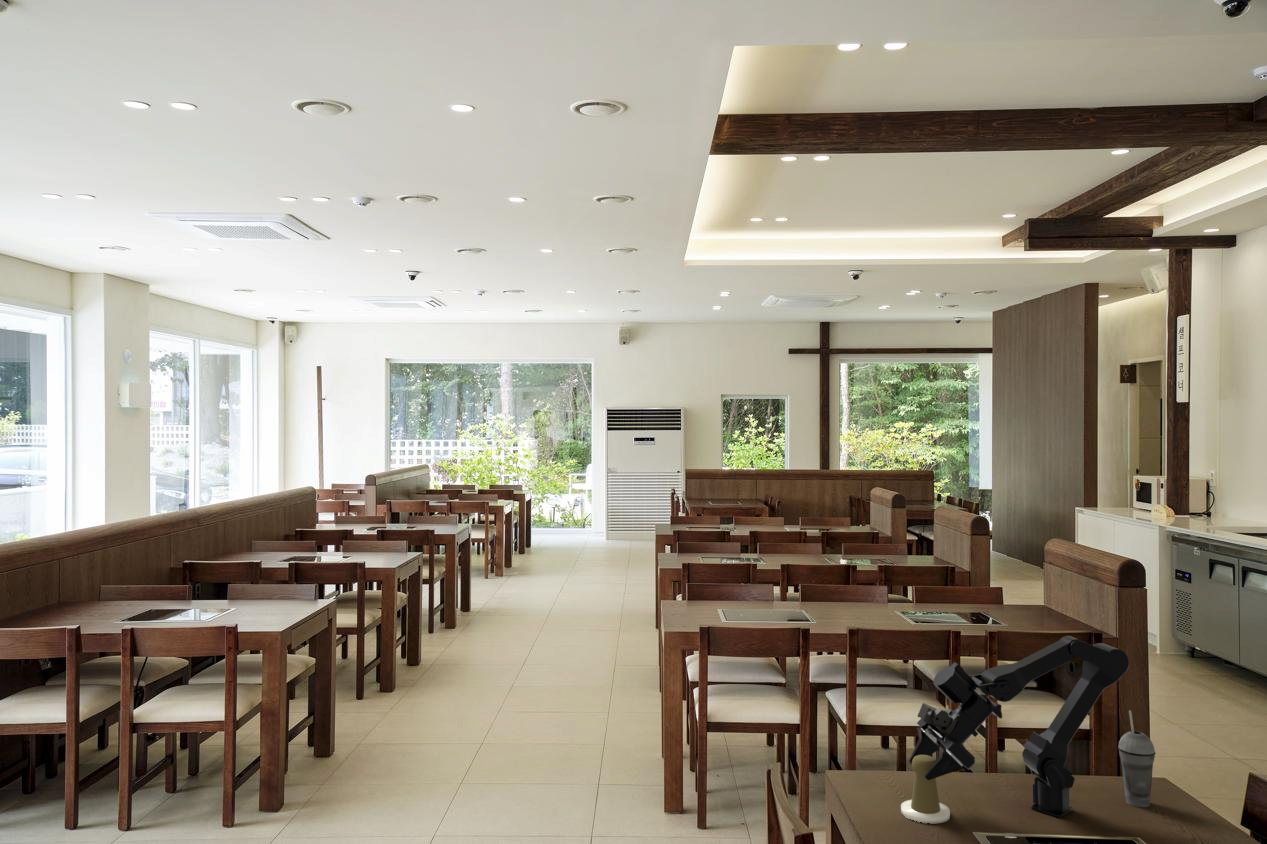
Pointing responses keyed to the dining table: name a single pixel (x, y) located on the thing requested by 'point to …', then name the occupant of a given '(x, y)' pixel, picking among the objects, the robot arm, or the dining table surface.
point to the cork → (924, 787)
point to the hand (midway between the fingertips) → (918, 770)
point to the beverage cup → (1137, 766)
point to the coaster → (925, 818)
